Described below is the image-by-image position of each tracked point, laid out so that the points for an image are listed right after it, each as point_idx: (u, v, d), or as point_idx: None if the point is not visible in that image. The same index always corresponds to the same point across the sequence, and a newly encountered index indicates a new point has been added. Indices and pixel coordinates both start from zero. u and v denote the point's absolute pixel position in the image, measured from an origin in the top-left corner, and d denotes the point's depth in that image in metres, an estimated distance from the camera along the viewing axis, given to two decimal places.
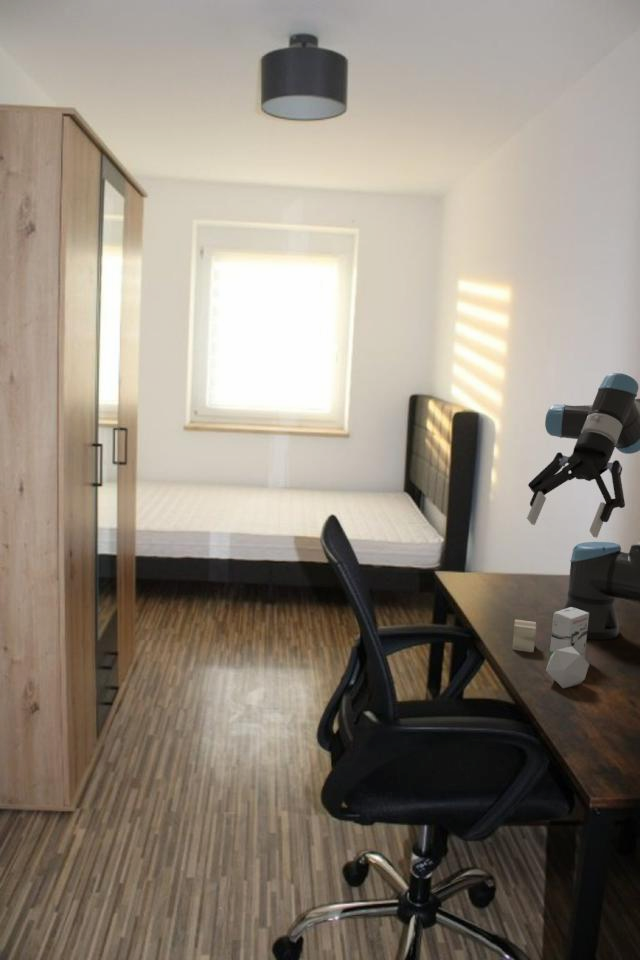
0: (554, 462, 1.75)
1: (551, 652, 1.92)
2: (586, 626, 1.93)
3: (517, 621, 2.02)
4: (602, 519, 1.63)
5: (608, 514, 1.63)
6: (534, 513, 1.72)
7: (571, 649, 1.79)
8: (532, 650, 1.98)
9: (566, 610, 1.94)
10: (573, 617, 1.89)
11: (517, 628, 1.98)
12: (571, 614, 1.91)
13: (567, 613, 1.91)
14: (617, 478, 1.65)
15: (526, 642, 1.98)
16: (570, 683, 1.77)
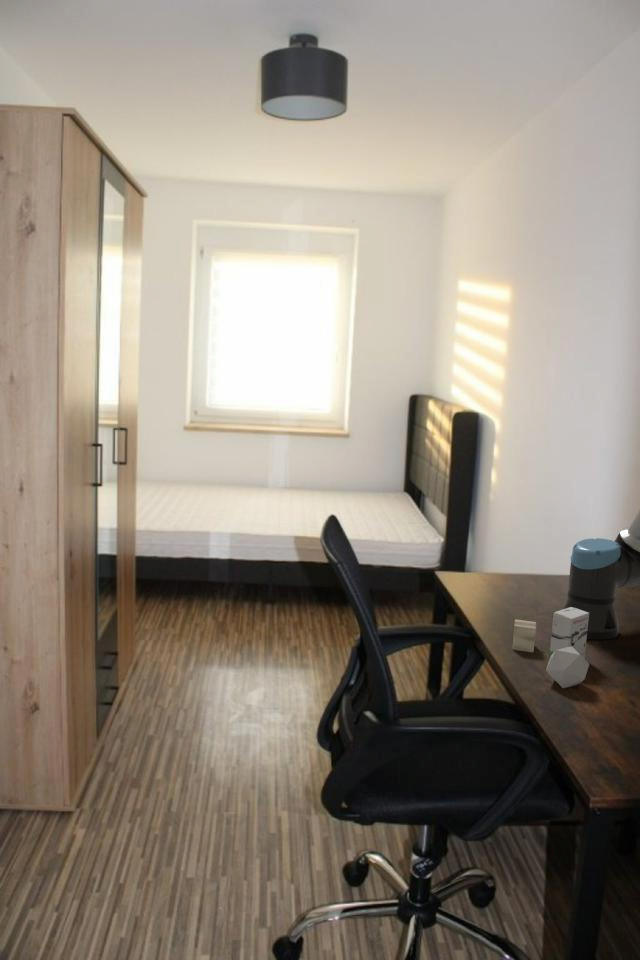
0: None
1: (551, 652, 1.92)
2: (586, 626, 1.93)
3: (517, 621, 2.02)
4: None
5: None
6: None
7: (571, 649, 1.79)
8: (532, 650, 1.98)
9: (566, 610, 1.94)
10: (573, 617, 1.89)
11: (517, 627, 1.98)
12: (571, 614, 1.91)
13: (567, 613, 1.91)
14: None
15: (526, 642, 1.98)
16: (570, 683, 1.77)
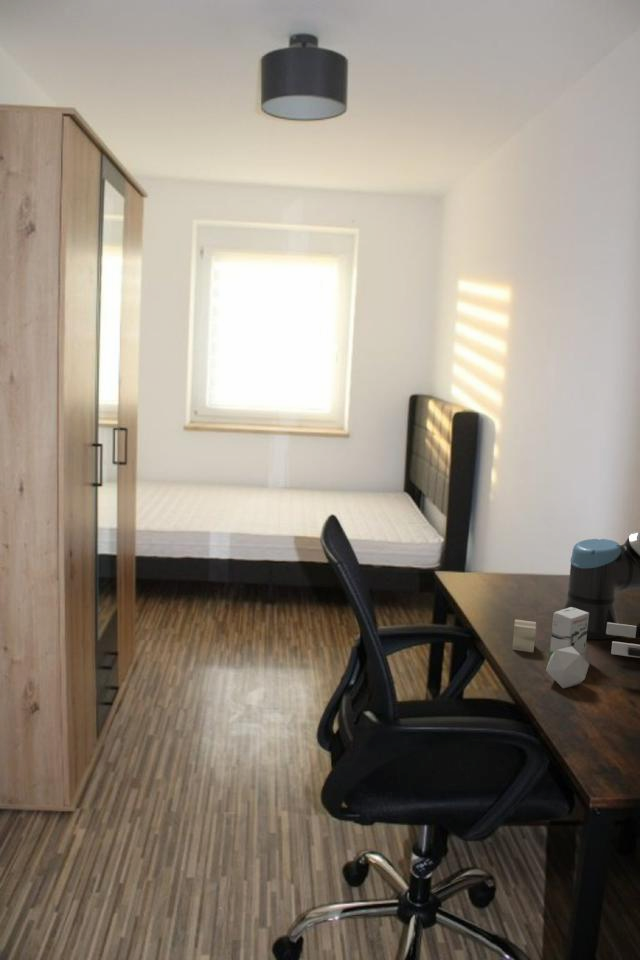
0: None
1: (551, 652, 1.92)
2: (586, 626, 1.93)
3: (517, 621, 2.02)
4: None
5: None
6: None
7: (571, 649, 1.79)
8: (532, 650, 1.98)
9: (566, 610, 1.94)
10: (573, 617, 1.89)
11: (516, 628, 1.98)
12: (571, 614, 1.91)
13: (567, 613, 1.91)
14: None
15: (526, 642, 1.98)
16: (570, 683, 1.77)
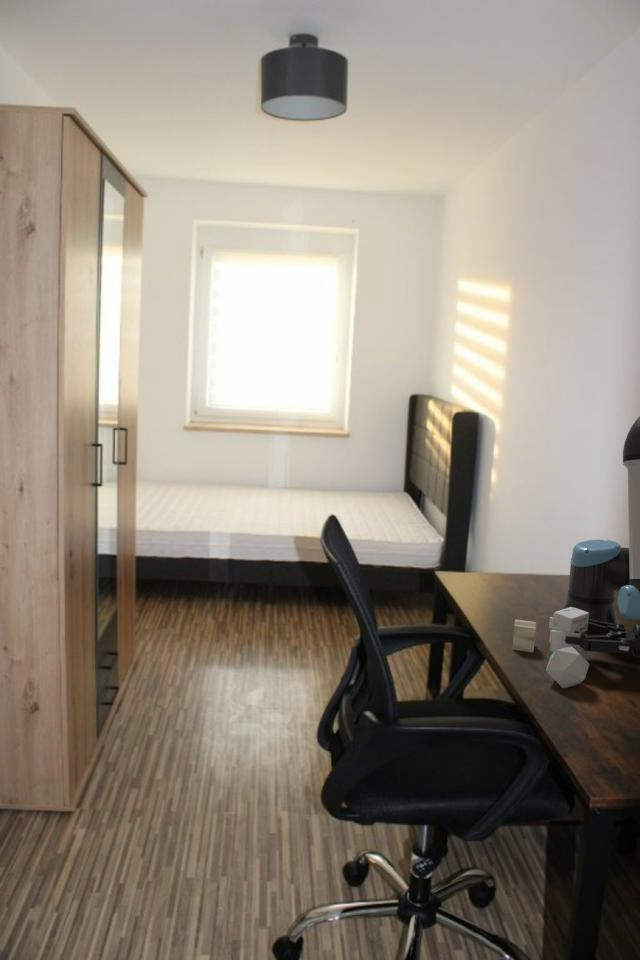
0: None
1: (551, 652, 1.92)
2: (586, 626, 1.93)
3: (517, 621, 2.02)
4: None
5: None
6: None
7: (571, 649, 1.79)
8: (532, 650, 1.98)
9: (566, 610, 1.94)
10: (573, 617, 1.89)
11: (516, 628, 1.98)
12: (571, 614, 1.91)
13: (567, 613, 1.91)
14: None
15: (526, 642, 1.98)
16: (570, 683, 1.77)
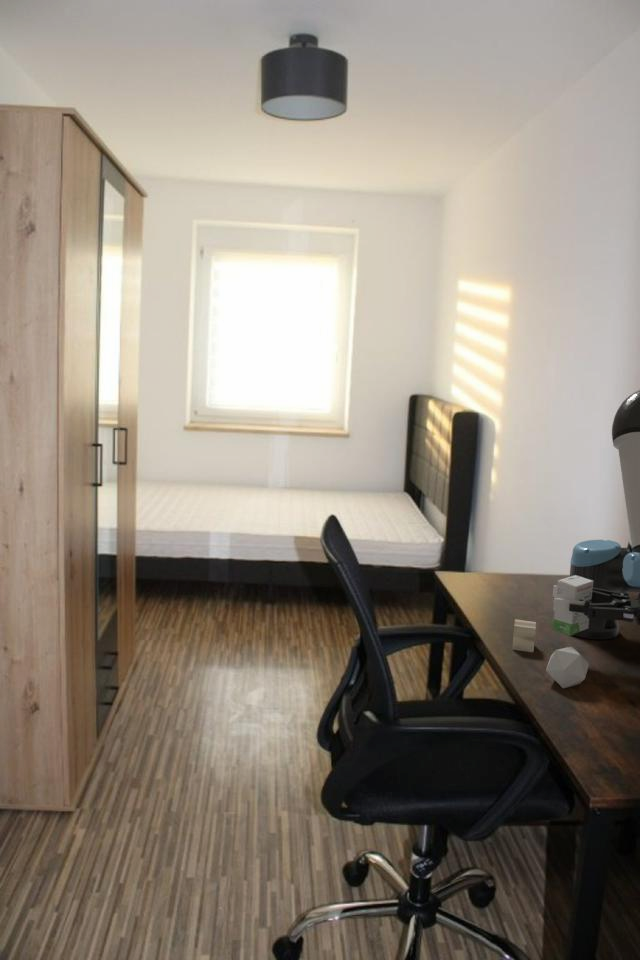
0: None
1: (555, 620, 1.90)
2: (590, 594, 1.92)
3: (517, 621, 2.02)
4: None
5: None
6: None
7: (571, 649, 1.79)
8: (532, 650, 1.98)
9: (570, 578, 1.92)
10: (577, 585, 1.87)
11: (516, 627, 1.98)
12: (575, 582, 1.89)
13: (571, 581, 1.89)
14: None
15: (526, 642, 1.98)
16: (570, 683, 1.77)
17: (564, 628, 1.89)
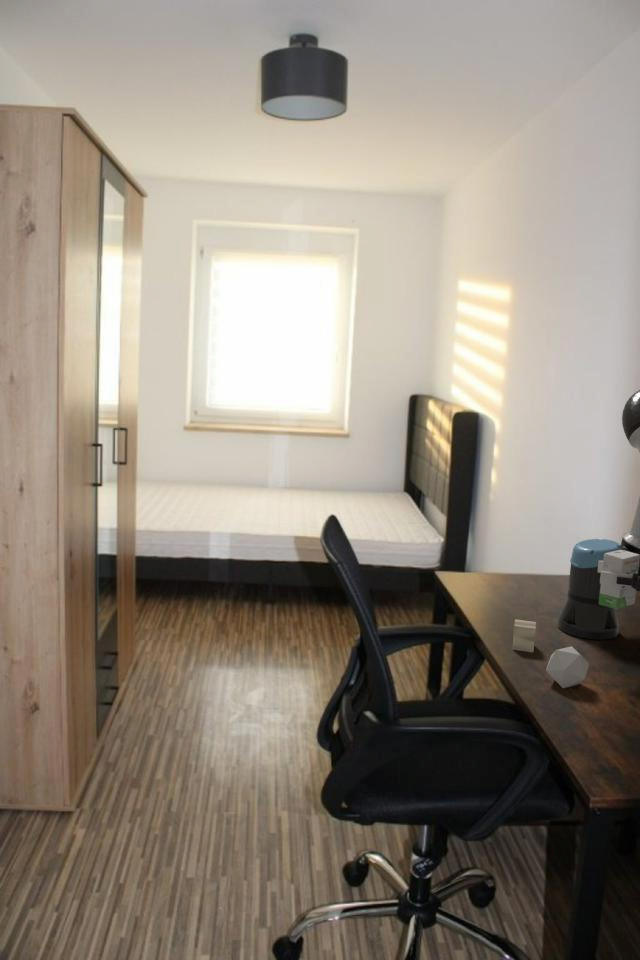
0: None
1: (601, 594, 1.87)
2: (637, 568, 1.88)
3: (517, 621, 2.02)
4: None
5: None
6: None
7: (571, 649, 1.79)
8: (532, 650, 1.98)
9: (616, 552, 1.89)
10: (624, 558, 1.84)
11: (516, 627, 1.98)
12: (622, 555, 1.86)
13: (618, 554, 1.87)
14: None
15: (526, 642, 1.98)
16: (570, 683, 1.77)
17: (610, 602, 1.86)
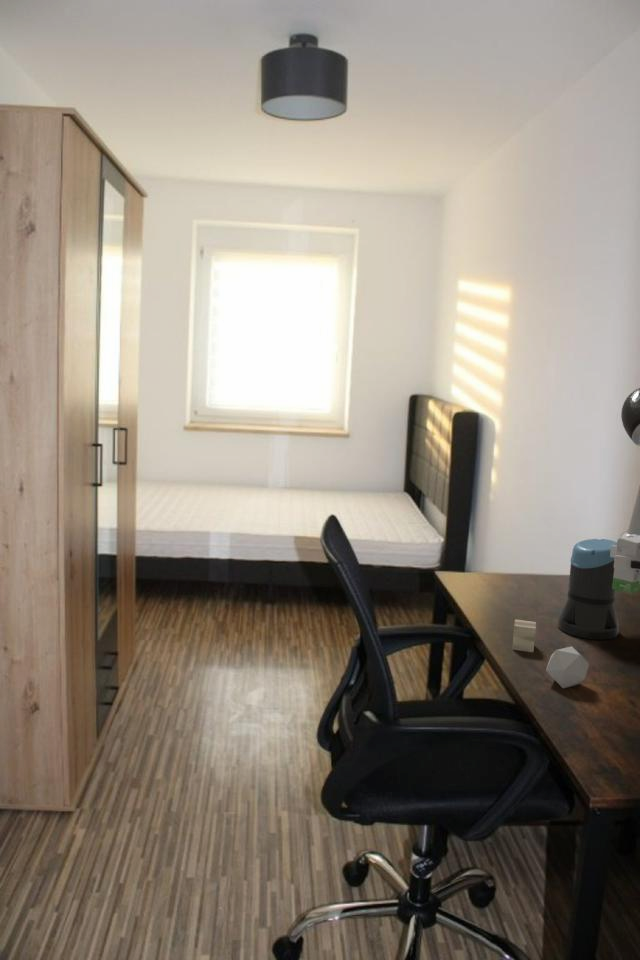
0: None
1: (615, 579, 1.86)
2: None
3: (517, 621, 2.02)
4: None
5: None
6: None
7: (571, 649, 1.79)
8: (532, 650, 1.98)
9: (629, 536, 1.88)
10: (638, 542, 1.83)
11: (516, 627, 1.98)
12: (636, 539, 1.85)
13: (631, 538, 1.85)
14: None
15: (526, 642, 1.98)
16: (570, 683, 1.77)
17: (624, 587, 1.84)
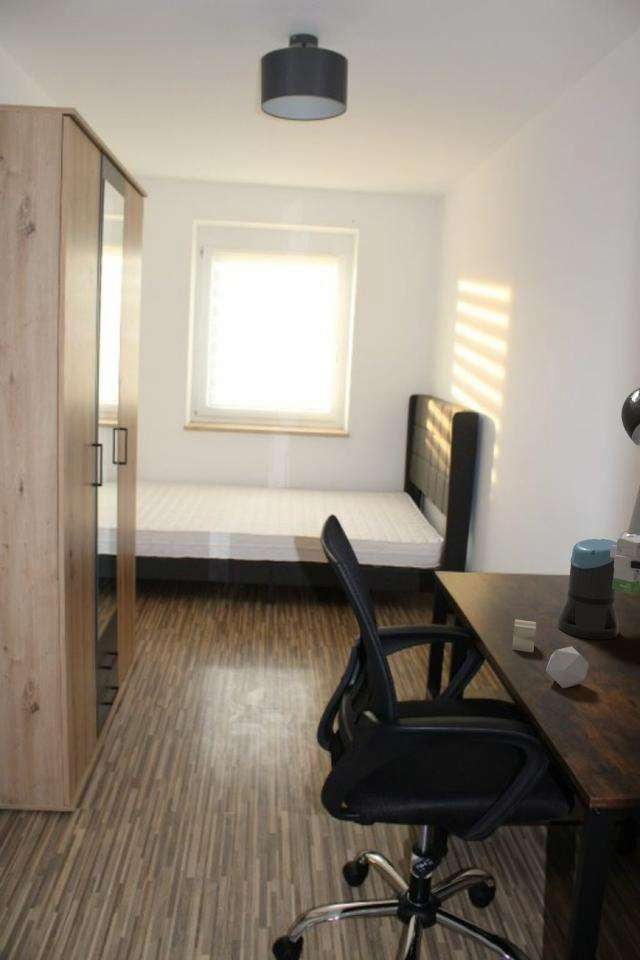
0: None
1: (615, 579, 1.86)
2: None
3: (517, 621, 2.02)
4: None
5: None
6: None
7: (571, 649, 1.79)
8: (532, 650, 1.98)
9: (629, 536, 1.88)
10: (638, 542, 1.83)
11: (516, 627, 1.98)
12: (636, 539, 1.85)
13: (631, 538, 1.85)
14: None
15: (526, 642, 1.98)
16: (570, 683, 1.77)
17: (624, 587, 1.84)
